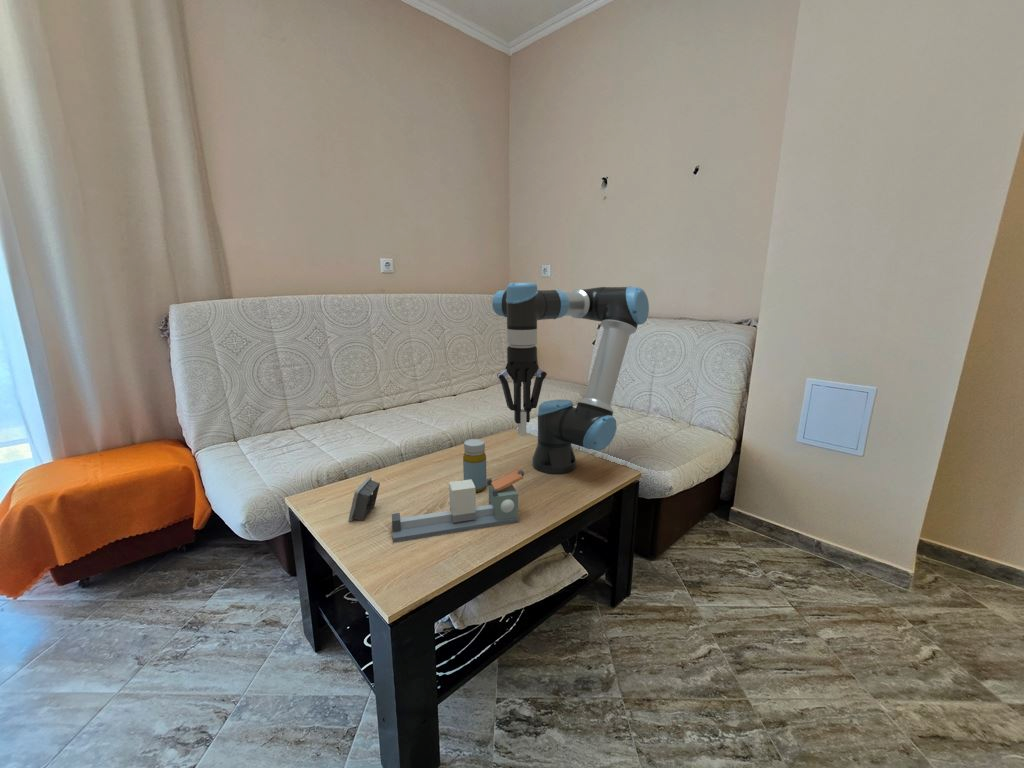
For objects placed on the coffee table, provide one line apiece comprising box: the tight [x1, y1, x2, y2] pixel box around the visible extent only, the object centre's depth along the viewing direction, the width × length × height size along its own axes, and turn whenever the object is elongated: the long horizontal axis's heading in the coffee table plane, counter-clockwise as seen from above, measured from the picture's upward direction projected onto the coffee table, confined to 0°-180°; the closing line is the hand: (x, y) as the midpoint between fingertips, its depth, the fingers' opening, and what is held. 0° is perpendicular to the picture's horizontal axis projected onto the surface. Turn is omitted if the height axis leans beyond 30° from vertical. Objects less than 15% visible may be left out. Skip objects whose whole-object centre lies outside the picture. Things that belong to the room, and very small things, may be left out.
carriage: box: [448, 479, 477, 523], centre depth 109 cm, size 6×5×9 cm
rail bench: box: [391, 477, 519, 544], centre depth 109 cm, size 32×9×10 cm, turn 107°
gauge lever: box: [491, 469, 525, 491], centre depth 112 cm, size 2×4×9 cm
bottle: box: [462, 438, 487, 493], centre depth 128 cm, size 7×7×15 cm
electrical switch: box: [348, 476, 381, 522], centre depth 114 cm, size 9×5×9 cm, turn 176°
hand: (522, 434), depth 110 cm, fingers closed
